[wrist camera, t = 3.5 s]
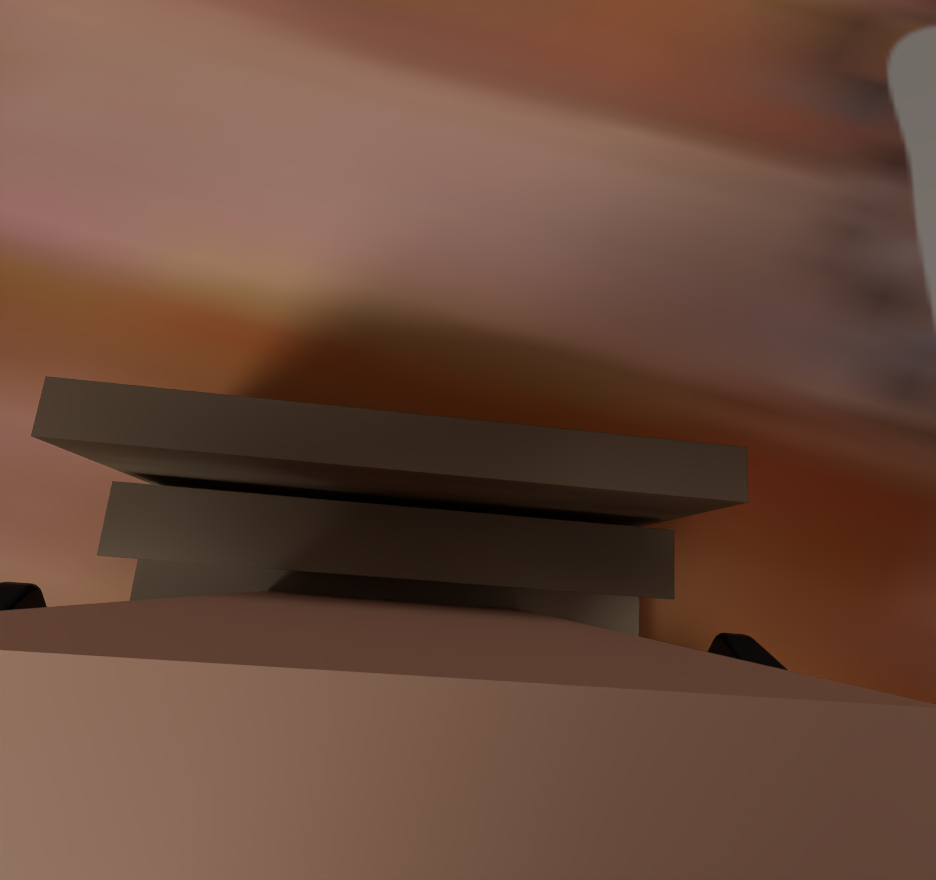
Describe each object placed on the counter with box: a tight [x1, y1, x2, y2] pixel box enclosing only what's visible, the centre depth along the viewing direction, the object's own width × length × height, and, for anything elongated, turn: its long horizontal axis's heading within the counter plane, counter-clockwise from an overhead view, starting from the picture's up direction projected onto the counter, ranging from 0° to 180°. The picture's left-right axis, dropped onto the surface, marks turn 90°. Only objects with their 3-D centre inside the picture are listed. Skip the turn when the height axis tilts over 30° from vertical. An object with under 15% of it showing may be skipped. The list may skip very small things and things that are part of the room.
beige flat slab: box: [0, 591, 936, 880], centre depth 9 cm, size 2×6×12 cm, turn 85°
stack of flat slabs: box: [31, 376, 748, 636], centre depth 12 cm, size 9×12×6 cm
